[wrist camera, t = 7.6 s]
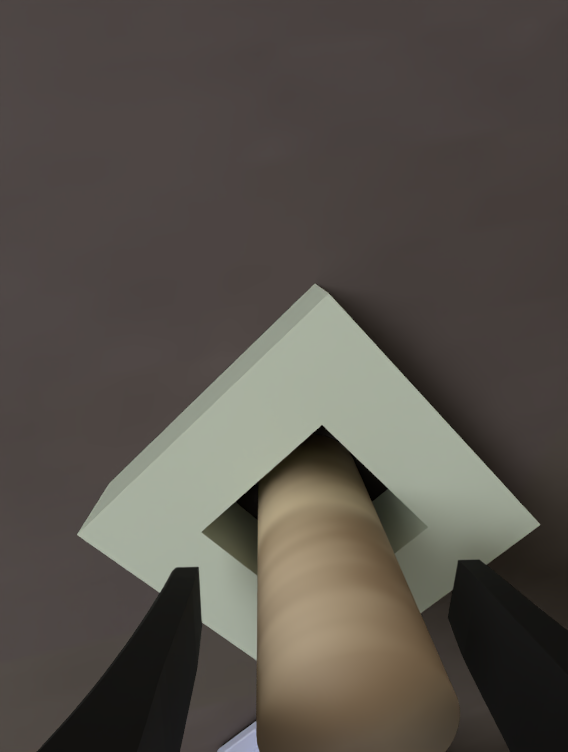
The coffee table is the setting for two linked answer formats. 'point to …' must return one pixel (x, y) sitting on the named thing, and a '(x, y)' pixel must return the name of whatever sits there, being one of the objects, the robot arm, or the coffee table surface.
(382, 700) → the peg
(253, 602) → the socket
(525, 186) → the coffee table surface
